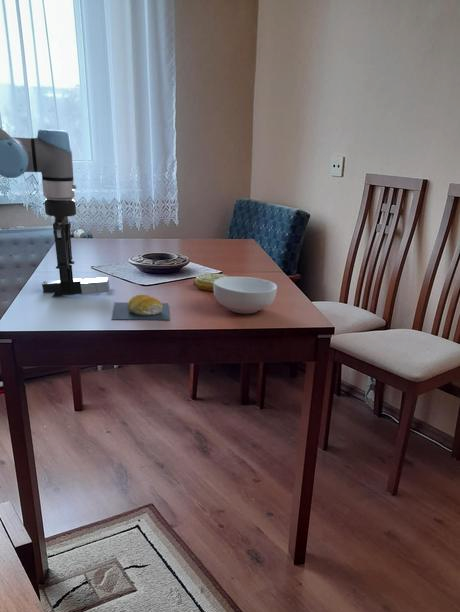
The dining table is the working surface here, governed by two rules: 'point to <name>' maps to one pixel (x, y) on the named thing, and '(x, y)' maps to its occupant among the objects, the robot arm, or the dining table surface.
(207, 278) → the decorated donut
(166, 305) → the placemat
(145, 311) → the bread roll
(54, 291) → the black and grey bar
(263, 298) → the cereal bowl
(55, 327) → the dining table surface
